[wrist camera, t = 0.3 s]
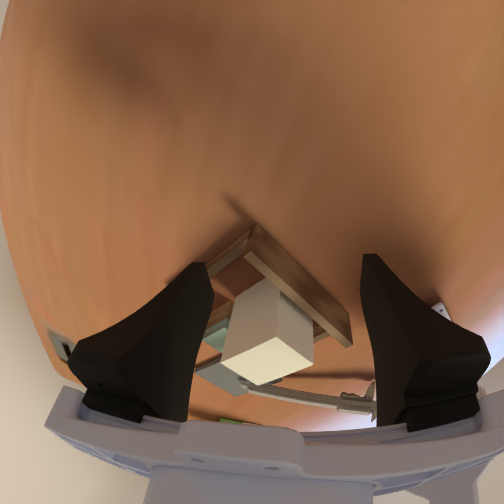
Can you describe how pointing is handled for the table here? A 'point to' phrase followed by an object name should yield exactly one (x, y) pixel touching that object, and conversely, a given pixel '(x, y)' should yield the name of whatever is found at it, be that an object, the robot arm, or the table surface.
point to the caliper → (320, 398)
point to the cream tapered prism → (267, 335)
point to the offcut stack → (218, 326)
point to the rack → (288, 282)
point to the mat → (225, 377)
